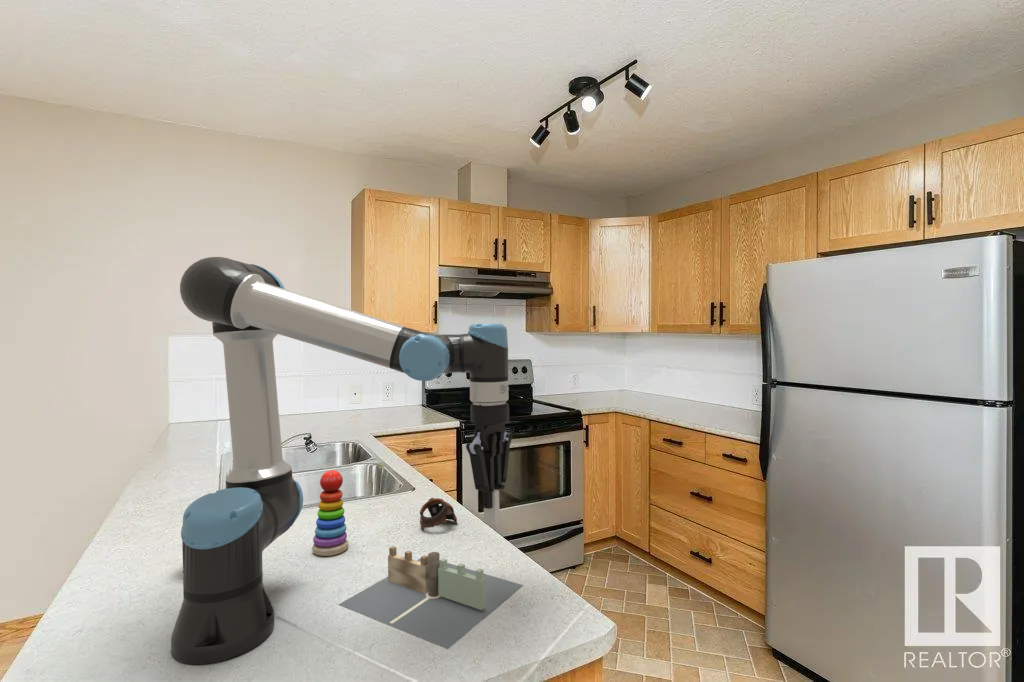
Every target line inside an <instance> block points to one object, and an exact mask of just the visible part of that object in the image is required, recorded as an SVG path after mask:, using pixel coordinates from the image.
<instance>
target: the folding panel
mask: <svg viewBox="0 0 1024 682" xmlns="http://www.w3.org/2000/svg"><path fill="white" fill-rule="evenodd" d="M447 563H448V559H447V558H441V559H440V568H438V595H439V596H441V597H444V598H447V599H450V600H453V601H456V602H459V603H462V604H465V605H468V606H471V607H474V608H477V609H480V610H482V609H484V608H485V578H483V573H484V569H482V568H478V569H476V570H475V571H476V576H475V575H471V574H468V573H465V568H466V564H465V563H458V564H456V566H457V570H454V569H451V568H448V567H447Z"/></svg>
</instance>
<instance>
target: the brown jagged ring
mask: <svg viewBox="0 0 1024 682" xmlns="http://www.w3.org/2000/svg"><path fill="white" fill-rule="evenodd" d="M426 510H427V511H428V512H429V514H430V516H424V512H425V511H426ZM419 514H420V516H419V526H420V528H421V530H422V529H423V530H424V529H426V528H434V527H436V526H439V525H440V524H443V523H446V524H447V523H448V521H449V520H450V521H453V522H454V523H455V525H456V524H457V525H458V520H457V519H458V518H457V516H456V514H455V509H454V507H453V506H452V505H451V504H450V503H449V502H447V501H445V500H444V499H443V498H439V497H435V498H434V497H430V498H429V499H428V500H427V502H425V503H424V504H423V505H422V507H420V510H419ZM446 519H448V520H446Z"/></svg>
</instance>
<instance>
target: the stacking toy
mask: <svg viewBox="0 0 1024 682" xmlns="http://www.w3.org/2000/svg"><path fill="white" fill-rule="evenodd" d="M319 479H320V481H319V484H320V487H321V489H322V490H323V491H321V493H320V494H319V499H320V501H319V502H318V508H319V509H318V510H317V518H316V521H315V525H316V527H315V530H314V536H313V538H312V542H313V545H312V549H311V550H312V552H313V553H314V554H315V555H317V556H320V557H321V556H323V557H330V556H336V555H339V554H341V553H343V552H346V550H347V548H348V547H349V542H348V540H347V538H348V534H347V532H346V531H347V525H346V523H345V522H346V517H345V516H344V515H345V508H344V507H343V506H344V501H343V499H342V498H343V492H342V490H340V489H341V487H342V485H343V481H344V479H343V475H342V473H341V472H339V471H337V470H332V469H331V470H328V471H326V472H324V473H323V474H322V475H321V477H320V478H319Z"/></svg>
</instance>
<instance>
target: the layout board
mask: <svg viewBox="0 0 1024 682" xmlns="http://www.w3.org/2000/svg"><path fill="white" fill-rule="evenodd" d="M416 561H419V562H421V557H420V558H418V559H417V560H416ZM447 567H448V568H451V569H454V570H457V564H452V563H449V562H447ZM465 573H468V574H471V575H475V576H476V570H473V569H469V568H467V567H465ZM483 578H485V608H484V609H482V610H480V609H477V608H474V607H471V606H468V605H465V604H462V603H459V602H456V601H453V600H450V599H447V598H444V597H441V596H439V595H438V596H436V597H430V596H429V595H428V592H427V593H426V594H425V593H422V592H419V591H416V590H413V589H411V588H408V587H405V586H402V585H399V584H396V583H393V582H390V581H388V576H386V577H384V578H383V579H381V580H380V581H378V582H376V583H374V584H372V585H371V586H368V587H366V588H365V589H363V590H361V591H360V592H358V593H356V594H354V595H353V596H351V597H349V598H347V599H345V600H344V601H342V602H340V603H338V604H337V605H338V606H340V607H343V608H345V609H347V610H350V611H353V612H354V613H357V614H360V615H363V616H365V617H367V618H370V619H373V620H375V621H377V622H380V623H381V624H384V625H387V626H389V627H391V628H394V629H396V630H399V631H402V632H405V633H406V634H409V635H412V636H415V637H416V638H419V639H421V640H424V641H427V642H429V643H432V644H434V645H436V646H439V647H441V648H444V649H446V650H449V649H450V648H451V647H452V646H453V645H455V644H456V643H457V642H458V641H459V640H460V639H462V638H463V637H465V635H466V634H468V633H470V631H471V630H472V629H473V628H475V627H476V626H478V625H479V623H481V622H483V620H484V619H486V618H487V617H488V616H489V615H490V614H492V613H493V612H494V611H495V610H496V609H498V608H499V607H500V606H501V605H502V604H504V602H506V601H507V600H508V599H509V598H511V597H512V596H513V595H514V594H516V592H518V591H519V590H521V588H522V587H523V586H524V585H523V584H521V583H517V582H514V581H510V580H507V579H504V578H500V577H498V576H493V575H490V574H486V573H484V572H483Z"/></svg>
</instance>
